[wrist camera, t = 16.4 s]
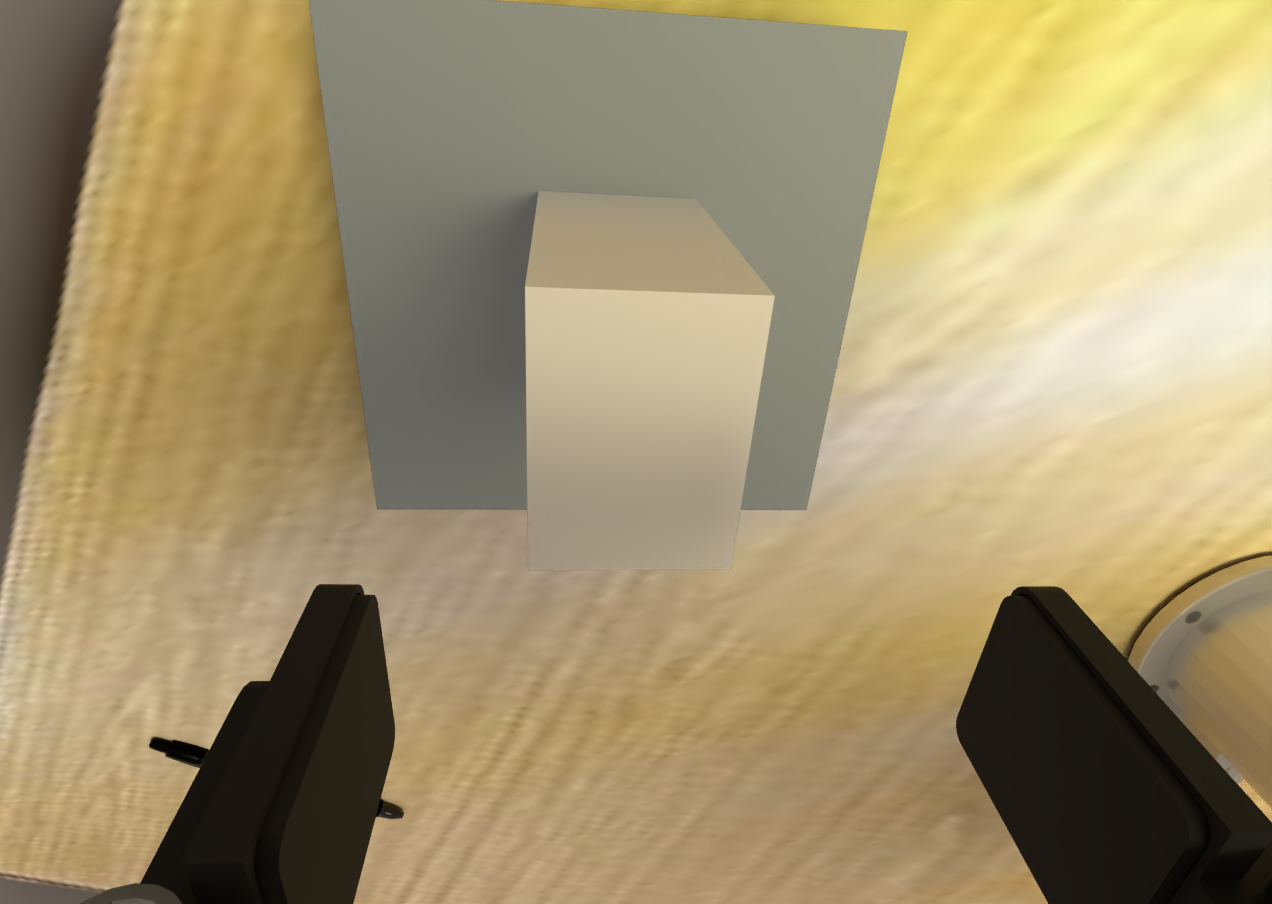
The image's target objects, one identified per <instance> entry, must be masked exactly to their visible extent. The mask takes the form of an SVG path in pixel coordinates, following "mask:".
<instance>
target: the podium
mask: <svg viewBox="0 0 1272 904" xmlns="http://www.w3.org/2000/svg"><path fill="white" fill-rule="evenodd" d="M309 6H310V14H311V21H312V28H313V36H314V43H315V51H316V58H317V66H318V73H319V81H320V88H321V96H322V103H323V111H324V118H325V125H326V133H327V140H328V148H329V155H330V163H331V170H332V178H333V185H334V193H335V200H336V208H337V215H338V222H339V230H340V237H341V245H342V252H343V260H344V267H345V275H346V282H347V290H348V297H349V304H350V312H351V319H352V327H353V334H354V342H355V349H356V357H357V364H358V372H359V379H360V387H361V394H362V401H363V409H364V416H365V424H366V431H367V439H368V446H369V454H370V461H371V469H372V476H373V484H374V491H375V498H376V506H377V509H505V510H527V427H526V333H525V283H526V276H527V269H528V262H529V255H530V248H531V241H532V234H533V227H534V220H535V213H536V206H537V199H538V192H539V191H548V192H568V193H588V194H608V195H628V196H648V197H668V198H688V199H697V200H698V202H699V203H700V204H701V205H702V207H703V208H704V209H705V210H706V212H707V213H708V214H709V215H710V216H711V218H712V219H713V220H714V221H715V223H716V224H717V225H718V226H719V228H720V229H721V230H722V231H723V233H724V234H725V235H726V236H727V237H728V239H729V240H730V241H731V242H732V244H733V245H734V246H735V247H736V249H737V250H738V251H739V252H740V253H741V255H742V256H743V257H744V258H745V260H746V261H747V262H748V263H749V265H750V266H751V267H752V268H753V269H754V271H755V272H756V273H757V274H758V276H759V277H760V278H761V279H762V281H763V282H764V283H765V284H766V285H767V287H768V288H769V289H770V290H771V292H772V293H773V294H774V295H775V298H774V304H773V310H772V316H771V323H770V329H769V335H768V341H767V348H766V354H765V360H764V366H763V372H762V379H761V385H760V391H759V397H758V404H757V410H756V416H755V422H754V429H753V435H752V441H751V447H750V453H749V460H748V466H747V472H746V478H745V485H744V491H743V497H742V503H741V509H740V510H806V509H807V505H808V500H809V495H810V491H811V486H812V481H813V476H814V472H815V467H816V462H817V457H818V453H819V448H820V443H821V438H822V434H823V429H824V424H825V420H826V415H827V410H828V405H829V401H830V396H831V391H832V386H833V382H834V377H835V372H836V367H837V363H838V358H839V353H840V349H841V344H842V339H843V334H844V330H845V325H846V320H847V315H848V311H849V306H850V301H851V296H852V292H853V287H854V282H855V278H856V273H857V268H858V263H859V259H860V254H861V249H862V244H863V240H864V235H865V230H866V225H867V221H868V216H869V211H870V207H871V202H872V197H873V192H874V188H875V183H876V178H877V173H878V169H879V164H880V159H881V154H882V150H883V145H884V140H885V136H886V131H887V126H888V121H889V117H890V112H891V107H892V102H893V98H894V93H895V88H896V83H897V79H898V74H899V69H900V64H901V60H902V55H903V50H904V46H905V41H906V36H907V31H897V30H883V29H870V28H856V27H843V26H830V25H816V24H803V23H790V22H776V21H763V20H750V19H736V18H723V17H709V16H696V15H683V14H669V13H656V12H643V11H629V10H616V9H603V8H589V7H576V6H563V5H549V4H536V3H522V2H509V1H496V0H309Z"/></svg>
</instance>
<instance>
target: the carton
mask: <svg viewBox="0 0 1272 904" xmlns="http://www.w3.org/2000/svg"><path fill="white" fill-rule="evenodd" d="M774 298H775V295H774V294H773V293H772V292H771V290H770V289H769V288H768V287H767V285H766V284H765V283H764V282H763V281H762V279H761V278H760V277H759V276H758V274H757V273H756V272H755V271H754V269H753V268H752V267H751V266H750V265H749V263H748V262H747V261H746V260H745V258H744V257H743V256H742V255H741V253H740V252H739V251H738V250H737V249H736V247H735V246H734V245H733V244H732V242H731V241H730V240H729V239H728V237H727V236H726V235H725V234H724V233H723V231H722V230H721V229H720V228H719V226H718V225H717V224H716V223H715V221H714V220H713V219H712V218H711V216H710V215H709V214H708V213H707V212H706V210H705V209H704V208H703V207H702V205H701V204H700V203H699V202H698V200H697V199H688V198H668V197H648V196H628V195H608V194H588V193H568V192H548V191H539V192H538V199H537V206H536V213H535V220H534V227H533V234H532V241H531V248H530V255H529V262H528V269H527V276H526V283H525V333H526V427H527V521H528V571H547V570H731V565H732V559H733V553H734V547H735V541H736V534H737V528H738V522H739V516H740V509H741V503H742V497H743V491H744V485H745V478H746V472H747V466H748V460H749V453H750V447H751V441H752V435H753V429H754V422H755V416H756V410H757V404H758V397H759V391H760V385H761V379H762V372H763V366H764V360H765V354H766V348H767V341H768V335H769V329H770V323H771V316H772V310H773V304H774Z"/></svg>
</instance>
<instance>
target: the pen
mask: <svg viewBox="0 0 1272 904" xmlns="http://www.w3.org/2000/svg"><path fill="white" fill-rule="evenodd" d="M149 747H150V748H151V749H154V750H156V751H159V752H163V753H165V756H166V757H168V758H171V759H174V760H176V761H179V762H182V763H185V764H188V765H191V766H194V767H198V768H201V766H202V764H203V762H204V760H205V758H206V756H207V754H208V752H209V750H208V749H205V748H202V747H199V746H196V745H192V744H189V743H185V742H181V741H177V740H173V741H169V740H165V739H161V738H153V739H152V740H151V742H150V744H149ZM403 815H404V812H403V811H401V810H400V809H399V808H397V807H396V806H394V805H392V804H389V803H387V802H384V801H383V800H382V799H380V802H379V806H378V810H377V814H376V817H382V818H387V819H399V818H402V817H403Z"/></svg>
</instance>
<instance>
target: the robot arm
mask: <svg viewBox="0 0 1272 904" xmlns="http://www.w3.org/2000/svg"><path fill="white" fill-rule="evenodd" d="M956 729H957V735H958V738H959V741H960V743H961V745H962V747H963V749H964V750H965V752H966V754H967V756H968V758H969V760H970V761H971V763H972V765H973V767H974V769H975V771H976V772H977V774H978V776H979V778H980V780H981V781H982V783H983V785H984V787H985V789H986V791H987V792H988V794H989V796H990V798H991V800H992V802H993V803H994V805H995V807H996V809H997V811H998V812H999V814H1000V816H1001V818H1002V820H1003V822H1004V823H1005V825H1006V827H1007V829H1008V831H1009V833H1010V834H1011V836H1012V838H1013V840H1014V842H1015V843H1016V845H1017V847H1018V849H1019V851H1020V853H1021V854H1022V856H1023V858H1024V860H1025V862H1026V864H1027V865H1028V867H1029V869H1030V871H1031V873H1032V875H1033V876H1034V878H1035V880H1036V882H1037V884H1038V885H1039V887H1040V889H1041V891H1042V893H1043V895H1044V896H1045V898H1046V900H1047V902H1048V904H1272V822H1271V821H1270V820H1269V819H1268V818H1267V817H1266V816H1265V815H1264V813H1263V812H1262V811H1261V810H1260V809H1259V808H1258V807H1257V806H1256V804H1255V803H1254V802H1253V801H1252V800H1251V799H1250V798H1249V797H1248V796H1247V794H1246V793H1245V792H1244V791H1243V790H1242V789H1241V788H1240V787H1239V785H1238V784H1237V783H1239V782H1241V781H1242V780H1243V778H1244V779H1245V781H1246V782H1247V783H1248V784H1249V785H1250V786H1251V787H1252V788H1253V789H1254V790H1255V792H1256V793H1257V794H1258V795H1259V796H1260V797H1261V798H1262V799H1263V800H1264V801H1265V802H1266V804H1267V805H1268V806H1269V807H1270V808H1271V809H1272V555H1270V556H1262V557H1259V558H1255V559H1251V560H1247V561H1244V562H1240V563H1237V564H1235V565H1232V566H1230V567H1227V568H1225V569H1222V570H1220V571H1217V572H1215V573H1214V574H1212V575H1210V576H1208V577H1206V578H1204V579H1202V580H1200V581H1199V582H1197V583H1195V584H1194V585H1192V586H1191V587H1189V588H1188V589H1186V590H1185V591H1183V592H1182V593H1180V594H1179V595H1178V596H1176V597H1175V598H1174V599H1173V600H1172V601H1170V602H1169V603H1168V604H1167V605H1166V606H1165V607H1164V608H1162V609H1161V610H1160V611H1159V612H1158V613H1157V614H1156V615H1155V617H1154V618H1153V619H1152V620H1151V621H1150V622H1149V623H1148V624H1147V626H1146V627H1145V628H1144V630H1143V631H1142V633H1141V634H1140V636H1139V637H1138V639H1137V641H1136V642H1135V644H1134V647H1133V649H1132V652H1131V654H1130V656H1129V659H1128V661H1127V660H1126V659H1125V658H1124V656H1123V655H1122V654H1121V653H1120V652H1119V651H1118V650H1117V649H1116V647H1115V646H1114V645H1113V644H1112V643H1111V642H1110V641H1109V640H1108V638H1107V637H1106V636H1105V635H1104V634H1103V633H1102V632H1101V631H1100V630H1099V628H1098V627H1097V626H1096V625H1095V624H1094V623H1093V622H1092V621H1091V619H1090V618H1089V617H1088V616H1087V615H1086V614H1085V613H1084V612H1083V610H1082V609H1081V608H1080V607H1079V606H1078V605H1077V604H1076V603H1075V601H1074V600H1073V599H1072V598H1071V597H1070V596H1069V595H1068V594H1067V593H1066V592H1065V591H1064V590H1063V589H1062V588H1058V587H1018V588H1016V589H1015V590H1014V591H1013V593H1012V594H1011V596H1007V597H1006V598H1004V599H1003V601H1002V603H1001V605H1000V608H999V610H998V613H997V615H996V618H995V620H994V623H993V626H992V628H991V631H990V633H989V636H988V639H987V641H986V644H985V646H984V649H983V651H982V654H981V657H980V659H979V662H978V664H977V667H976V670H975V672H974V675H973V677H972V680H971V682H970V685H969V688H968V690H967V693H966V695H965V698H964V700H963V703H962V706H961V708H960V711H959V713H958V716H957V720H956ZM394 739H395V723H394V716H393V709H392V702H391V695H390V688H389V680H388V673H387V666H386V659H385V652H384V645H383V638H382V630H381V623H380V616H379V609H378V602H377V598H376V596H375V595H364V591H363V588H362V586H361V585H338V584H319V585H318V586H316V588H315V589H314V591H313V593H312V595H311V597H310V599H309V601H308V603H307V605H306V607H305V609H304V611H303V613H302V616H301V618H300V620H299V622H298V624H297V626H296V628H295V630H294V632H293V634H292V636H291V638H290V640H289V643H288V645H287V647H286V649H285V651H284V653H283V655H282V657H281V659H280V661H279V663H278V665H277V667H276V670H275V672H274V674H273V676H272V678H271V680H270V681H251V682H249V683H248V684H247V685H246V686H244V687H243V689H242V690H241V692H240V693H239V695H238V697H237V698H236V700H235V702H234V704H233V706H232V708H231V710H230V712H229V714H228V716H227V718H226V720H225V721H224V723H223V725H222V727H221V729H220V731H219V733H218V735H217V737H216V739H215V741H214V743H213V745H212V746H211V748H210V750H209V752H208V754H207V756H206V758H205V760H204V762H203V764H202V766H201V768H200V770H199V771H198V773H197V775H196V777H195V779H194V781H193V783H192V785H191V787H190V789H189V791H188V793H187V795H186V796H185V798H184V800H183V802H182V804H181V806H180V808H179V810H178V812H177V814H176V816H175V818H174V820H173V821H172V823H171V825H170V827H169V829H168V831H167V833H166V835H165V837H164V839H163V841H162V843H161V844H160V846H159V848H158V850H157V852H156V854H155V856H154V858H153V860H152V862H151V864H150V866H149V868H148V869H147V871H146V873H145V875H144V877H143V879H142V881H141V883H140V884H139V883H134V884H129V885H125V886H121V887H116V888H112V889H109V890H106V891H104V892H102V893H100V894H98V895H95V896H93V897H91V898H89V899H87V900H85V901H83V902H81V903H80V904H353V902H354V898H355V895H356V891H357V887H358V883H359V879H360V875H361V872H362V868H363V864H364V860H365V856H366V852H367V848H368V845H369V841H370V837H371V833H372V829H373V825H374V822H375V818H376V814H377V810H378V806H379V802H380V799H381V795H382V791H383V787H384V783H385V779H386V776H387V772H388V768H389V764H390V760H391V756H392V752H393V747H394Z"/></svg>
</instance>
